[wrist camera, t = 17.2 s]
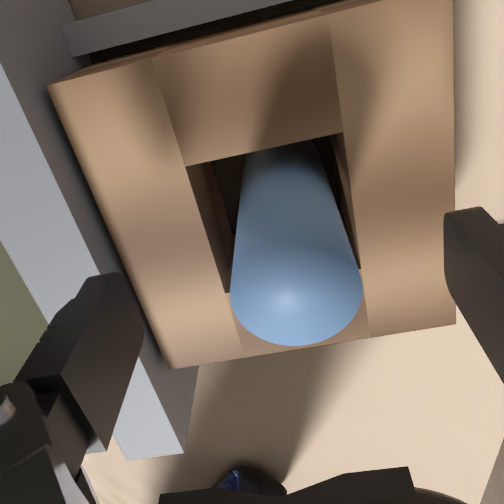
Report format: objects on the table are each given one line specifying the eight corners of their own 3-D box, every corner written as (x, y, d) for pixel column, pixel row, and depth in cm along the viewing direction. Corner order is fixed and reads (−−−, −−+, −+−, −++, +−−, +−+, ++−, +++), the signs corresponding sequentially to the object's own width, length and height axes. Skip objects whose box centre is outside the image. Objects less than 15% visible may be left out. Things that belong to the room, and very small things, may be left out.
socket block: (96, 62, 17) (45, 85, 13) (403, -17, 15) (452, -18, 11) (185, 301, 22) (169, 369, 18) (419, 260, 21) (455, 323, 17)
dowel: (234, 138, 18) (214, 252, 10) (314, 120, 18) (354, 225, 10) (253, 210, 20) (247, 354, 12) (326, 195, 19) (369, 334, 12)
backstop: (-17, -27, 16) (-158, -34, 10) (714, -242, 13) (1029, -401, 7) (155, 359, 24) (127, 460, 19) (611, 285, 21) (723, 381, 16)
